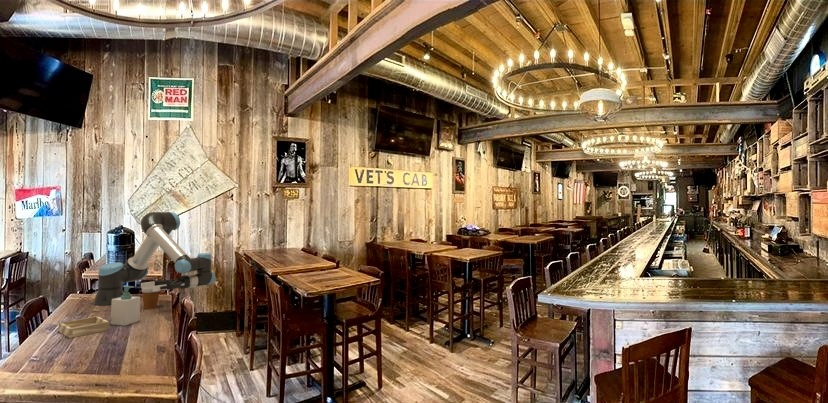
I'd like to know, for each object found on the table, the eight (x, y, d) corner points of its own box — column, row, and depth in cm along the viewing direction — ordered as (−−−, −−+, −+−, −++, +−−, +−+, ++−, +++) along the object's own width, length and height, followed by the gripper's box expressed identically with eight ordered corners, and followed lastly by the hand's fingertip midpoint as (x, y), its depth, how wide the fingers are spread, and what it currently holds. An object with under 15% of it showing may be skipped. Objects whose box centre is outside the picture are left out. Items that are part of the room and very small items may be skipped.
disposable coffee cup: (152, 310, 226) (153, 289, 226) (136, 309, 226) (137, 288, 226) (163, 306, 235) (164, 286, 235) (148, 305, 235) (149, 285, 236)
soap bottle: (124, 325, 197) (126, 288, 197) (110, 324, 199) (112, 286, 199) (139, 321, 205) (141, 284, 205) (125, 319, 207) (127, 283, 207)
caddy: (58, 331, 186) (58, 322, 186) (97, 324, 198) (97, 316, 198) (69, 338, 177) (69, 329, 177) (109, 330, 190) (109, 321, 190)
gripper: (198, 290, 222) (157, 297, 204) (176, 285, 236) (136, 291, 218) (199, 277, 222) (158, 283, 204) (176, 272, 236) (136, 277, 218)
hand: (146, 287), depth 211 cm, fingers open, 13 cm apart
